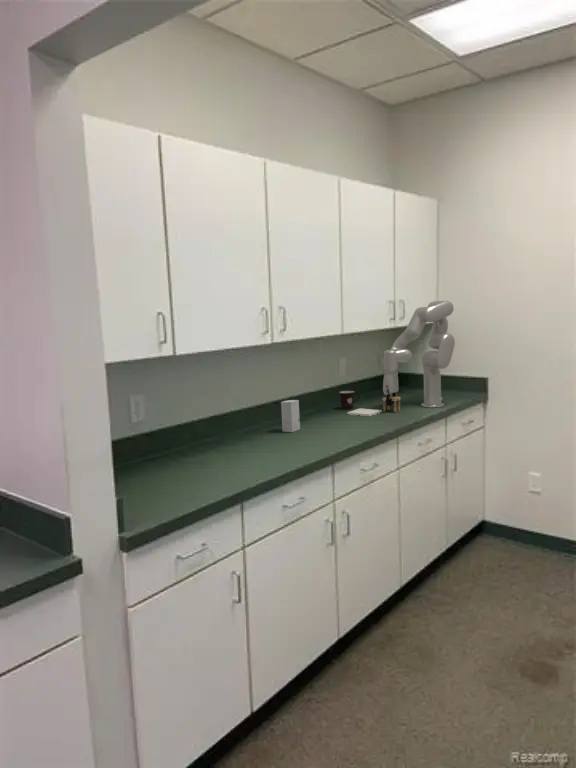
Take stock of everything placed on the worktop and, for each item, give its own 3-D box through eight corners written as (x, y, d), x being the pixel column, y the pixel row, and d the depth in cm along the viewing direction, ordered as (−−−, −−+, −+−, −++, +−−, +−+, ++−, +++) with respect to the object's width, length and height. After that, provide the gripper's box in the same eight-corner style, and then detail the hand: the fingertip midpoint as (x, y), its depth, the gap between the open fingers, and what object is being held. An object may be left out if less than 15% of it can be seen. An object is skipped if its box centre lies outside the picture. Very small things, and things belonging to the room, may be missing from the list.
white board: (360, 410, 335) (360, 408, 334) (382, 412, 326) (382, 410, 326) (347, 414, 324) (347, 412, 324) (369, 416, 315) (369, 414, 315)
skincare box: (292, 432, 284) (291, 402, 282) (281, 431, 287) (280, 401, 285) (300, 429, 291) (299, 399, 289) (290, 428, 294) (288, 399, 292)
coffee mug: (339, 410, 338) (339, 393, 336) (340, 407, 346) (339, 391, 345) (360, 410, 336) (359, 392, 335) (360, 407, 345) (359, 390, 343)
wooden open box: (387, 410, 331) (387, 396, 330) (400, 411, 326) (400, 397, 325) (383, 411, 327) (382, 397, 326) (396, 412, 322) (395, 398, 321)
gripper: (392, 370, 333) (392, 402, 335) (377, 374, 320) (378, 406, 322) (404, 370, 328) (404, 402, 331) (389, 374, 315) (390, 407, 317)
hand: (391, 404), depth 326 cm, fingers closed on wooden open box, 5 cm apart
